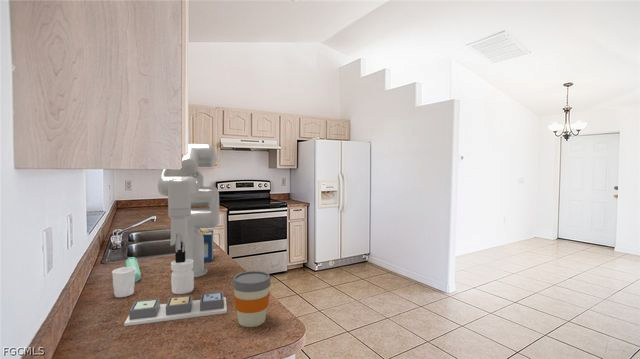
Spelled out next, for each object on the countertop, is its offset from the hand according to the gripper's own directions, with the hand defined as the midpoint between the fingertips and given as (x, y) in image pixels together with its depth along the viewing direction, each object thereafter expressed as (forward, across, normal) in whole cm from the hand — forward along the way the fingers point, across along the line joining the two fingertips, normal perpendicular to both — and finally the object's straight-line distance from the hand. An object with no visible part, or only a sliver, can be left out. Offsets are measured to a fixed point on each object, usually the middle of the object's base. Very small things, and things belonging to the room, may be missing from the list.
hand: (180, 261), depth 116 cm
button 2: (+16, +4, 0) cm, 16 cm away
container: (+19, -44, -25) cm, 54 cm away
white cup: (+18, -19, -23) cm, 35 cm away
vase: (+18, -17, -1) cm, 25 cm away
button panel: (+17, +4, 0) cm, 17 cm away
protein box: (+20, -60, +3) cm, 63 cm away
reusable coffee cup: (+17, +18, +24) cm, 34 cm away
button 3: (+15, +4, +11) cm, 19 cm away
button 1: (+16, +4, -11) cm, 19 cm away
